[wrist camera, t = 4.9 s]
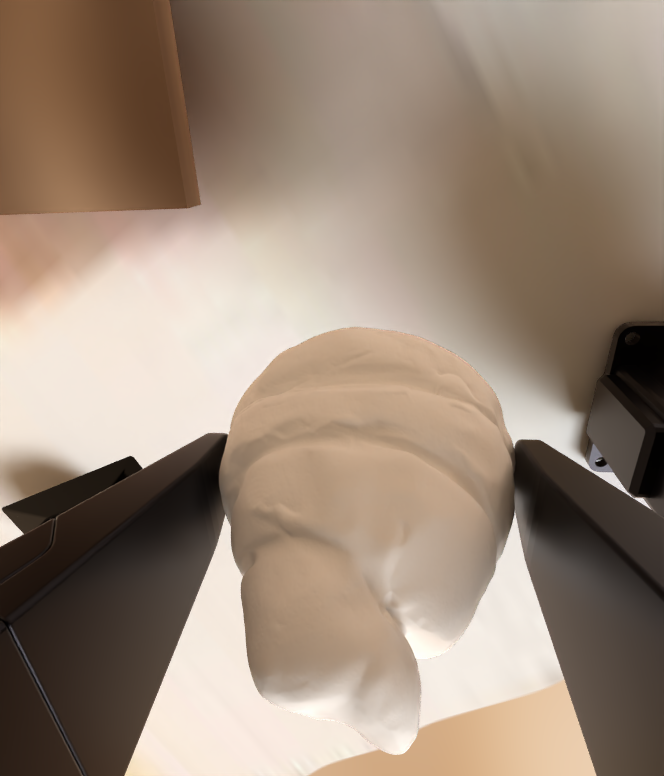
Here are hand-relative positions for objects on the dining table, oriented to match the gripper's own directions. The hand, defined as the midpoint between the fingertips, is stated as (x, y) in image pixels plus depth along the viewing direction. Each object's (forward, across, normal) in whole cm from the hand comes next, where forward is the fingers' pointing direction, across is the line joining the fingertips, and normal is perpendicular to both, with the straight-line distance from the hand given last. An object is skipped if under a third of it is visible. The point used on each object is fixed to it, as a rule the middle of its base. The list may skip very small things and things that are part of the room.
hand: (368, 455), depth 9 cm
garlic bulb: (+2, 0, 0) cm, 2 cm away
